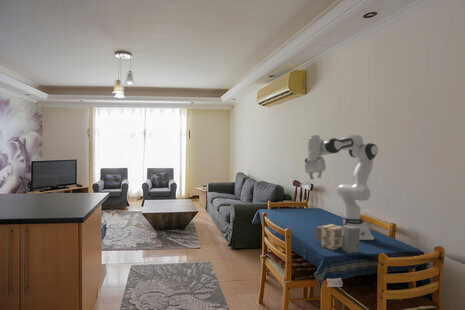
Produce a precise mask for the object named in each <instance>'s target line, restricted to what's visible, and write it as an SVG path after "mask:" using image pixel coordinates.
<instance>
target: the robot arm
mask: <svg viewBox="0 0 465 310" xmlns="http://www.w3.org/2000/svg"><path fill="white" fill-rule="evenodd" d="M341 150H342V151H348V155H349V156H350V157H352V158H353V159H354V158H355V159H356V158H357V159H359V160H358V162H357V163H356V166H355V168H354V171H353V172H352V174H351V177H352V180H353V181H354V184H353V183H340V184H338V186H337V188H336V193H337V194H338V196H339V197H340V198H341V200H342V203H343V208H344V216H343V222H342V223H343V226H355V227H358V228H360V233H359V241H367V240H368V241H370V240H375V237H374V236H373V235H372V234H371V230H370V228H368V227H367V225H365V224H364V223H366V220H365V219H363V218H361V210H362V209H361V207H360V205H359V204H357V203H356V201H363V202H364V201H368V200H369V199H370V197H371V196H372V194H371V189H370V188H369V187H368V180H369V177H370V175H371V173H372V168H373V166H374V161H373V160H374V159H375V158H376V156H377V154H378V151H379V149H378V146H377V144H375V143H371V142H368V143H367V142H364V139H363V137H362V136H361V135H359V134H349V135H345V136H342V137H341V138H339V139H338V138H335V137H333V138H330V139H327V140H323V139H322V138H321V137H320V135H312V136H309V137H308V139H307V151H308V153H307V157H306V158H305V159H304V163H305V164H304V169H305V170H304V171H305V173H306V174H308V175H309V178H310V180H314V176H313V175H314V174H315V173H318V174H317V178H318V179H321V178H322V174H323V172H325V171H326V169H327V168H326V161H325V158H324V157H323V156H326V155H327V156H328V155H331V154H337V153H339V152H341ZM342 237H343V232H342Z"/></svg>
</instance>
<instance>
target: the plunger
mask: <svg viewBox="0 0 465 310" xmlns="http://www.w3.org/2000/svg"><path fill="white" fill-rule="evenodd" d="M322 226H324V225H319V226H315V240H317V241H321V238H322Z"/></svg>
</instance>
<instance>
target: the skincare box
mask: <svg viewBox="0 0 465 310" xmlns="http://www.w3.org/2000/svg"><path fill="white" fill-rule="evenodd" d="M342 227H343V236H342V247H341V248H342V251H344V252H345V253H347V254H354V253H359V252H360V240H359V233H360V228H358V227H355V226H344V225H343V226H342Z"/></svg>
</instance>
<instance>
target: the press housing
mask: <svg viewBox="0 0 465 310" xmlns="http://www.w3.org/2000/svg"><path fill="white" fill-rule="evenodd" d="M321 226H322V225H321ZM342 232H343V226H342V225H336V224H332V223H328V224H326V225H325V224H324V225H323V226H322V238H321V240H320V243H321V245H320V246H321V247H322V248H324V249H325V248H326V249H329V250H332V251H335V250H337V249H339V248H342V247H343V236H342Z"/></svg>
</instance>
